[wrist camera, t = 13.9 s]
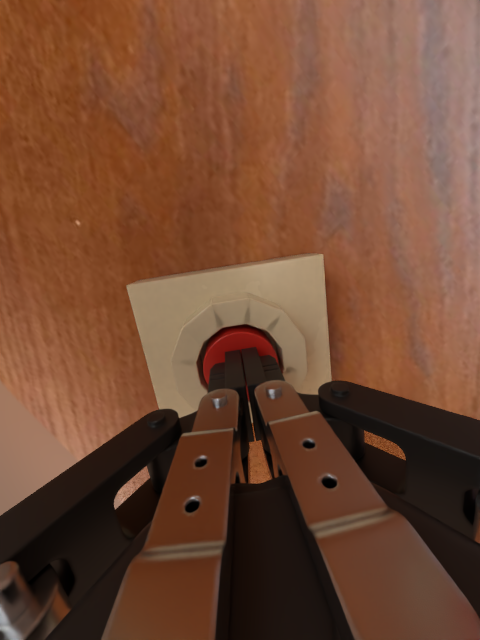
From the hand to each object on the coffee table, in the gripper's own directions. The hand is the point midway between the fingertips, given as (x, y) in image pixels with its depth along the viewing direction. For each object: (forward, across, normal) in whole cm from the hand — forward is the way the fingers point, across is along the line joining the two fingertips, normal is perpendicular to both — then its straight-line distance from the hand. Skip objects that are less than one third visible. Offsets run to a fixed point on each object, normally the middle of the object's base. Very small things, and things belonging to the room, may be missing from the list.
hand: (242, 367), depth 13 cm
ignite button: (+2, 0, 0) cm, 2 cm away
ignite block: (+4, 0, 0) cm, 4 cm away
